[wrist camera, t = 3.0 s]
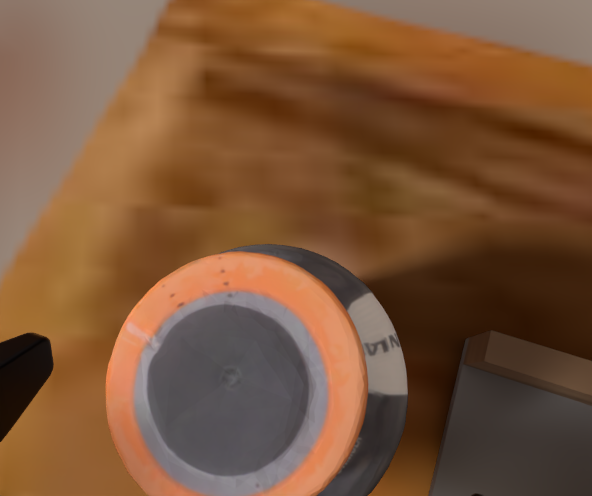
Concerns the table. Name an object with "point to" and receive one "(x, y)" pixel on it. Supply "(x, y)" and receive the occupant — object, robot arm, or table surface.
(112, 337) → the table surface
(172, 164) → the table surface
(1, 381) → the robot arm
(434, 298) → the table surface
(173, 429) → the pill bottle
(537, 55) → the table surface
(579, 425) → the box
